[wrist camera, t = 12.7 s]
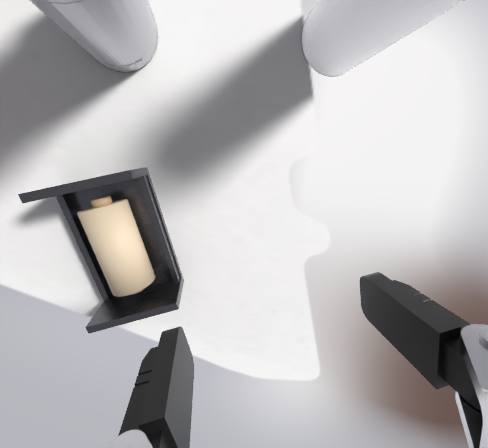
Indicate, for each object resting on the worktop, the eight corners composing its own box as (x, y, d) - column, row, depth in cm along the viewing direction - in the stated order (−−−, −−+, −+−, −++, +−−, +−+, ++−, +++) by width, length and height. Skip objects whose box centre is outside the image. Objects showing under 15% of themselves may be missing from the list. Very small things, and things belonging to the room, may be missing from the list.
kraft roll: (89, 199, 33) (62, 208, 28) (131, 189, 33) (113, 197, 28) (124, 283, 37) (107, 307, 32) (161, 275, 38) (151, 296, 32)
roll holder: (60, 185, 33) (18, 194, 25) (146, 167, 34) (129, 170, 26) (111, 299, 38) (88, 333, 31) (183, 280, 39) (178, 309, 32)
